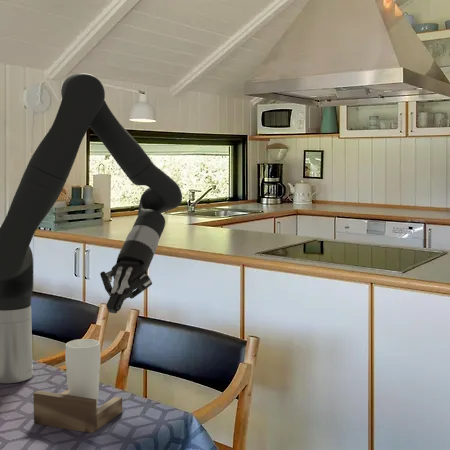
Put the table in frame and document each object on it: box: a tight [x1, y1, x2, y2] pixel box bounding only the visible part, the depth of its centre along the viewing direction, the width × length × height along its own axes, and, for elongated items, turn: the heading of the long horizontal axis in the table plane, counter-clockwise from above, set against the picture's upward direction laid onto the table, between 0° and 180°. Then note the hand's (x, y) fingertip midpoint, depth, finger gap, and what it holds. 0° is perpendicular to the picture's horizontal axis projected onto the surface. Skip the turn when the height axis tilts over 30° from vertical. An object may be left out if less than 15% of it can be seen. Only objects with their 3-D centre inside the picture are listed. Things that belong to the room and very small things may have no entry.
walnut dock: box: [32, 388, 123, 434], centre depth 121 cm, size 11×13×6 cm
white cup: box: [64, 338, 101, 408], centre depth 122 cm, size 7×7×15 cm
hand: (111, 311), depth 132 cm, fingers closed
